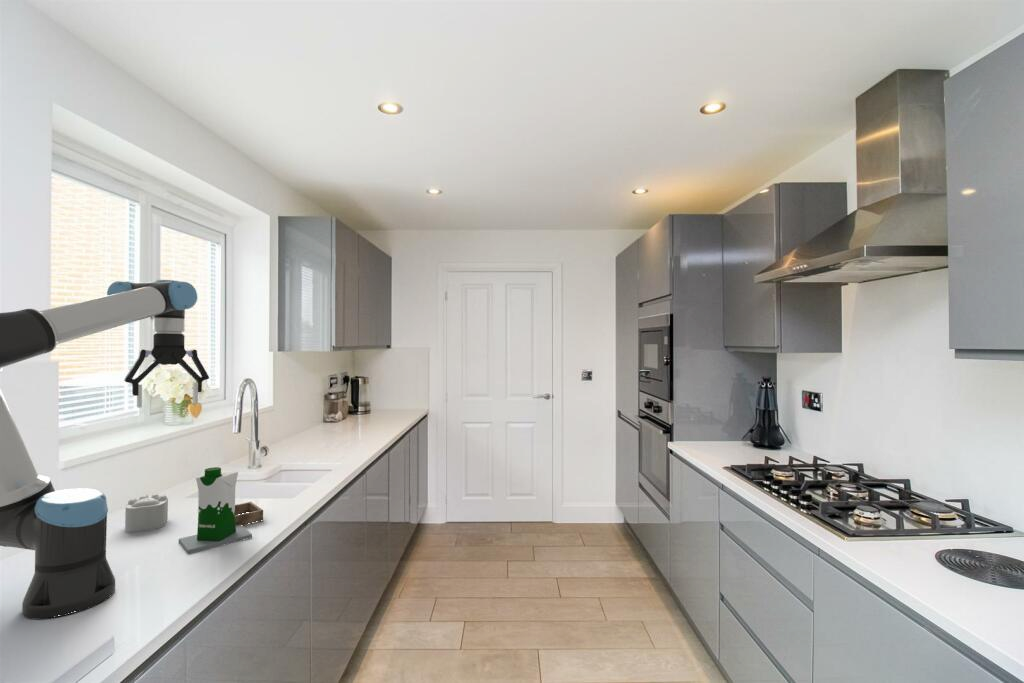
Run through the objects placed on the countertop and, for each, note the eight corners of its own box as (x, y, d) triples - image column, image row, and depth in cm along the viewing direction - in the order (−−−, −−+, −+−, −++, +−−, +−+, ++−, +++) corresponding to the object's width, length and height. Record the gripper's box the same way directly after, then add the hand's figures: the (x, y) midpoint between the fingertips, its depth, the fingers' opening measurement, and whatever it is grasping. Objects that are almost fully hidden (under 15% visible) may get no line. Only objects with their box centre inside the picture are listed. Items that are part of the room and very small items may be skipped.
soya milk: (191, 541, 137) (192, 470, 137) (213, 529, 146) (214, 463, 146) (220, 543, 136) (221, 471, 136) (241, 530, 145) (242, 463, 145)
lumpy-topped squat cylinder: (122, 533, 145) (122, 504, 145) (130, 520, 156) (131, 493, 157) (164, 527, 150) (165, 499, 150) (170, 515, 162) (170, 489, 162)
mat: (187, 553, 131) (187, 550, 131) (178, 542, 139) (178, 538, 139) (252, 537, 143) (252, 534, 143) (240, 527, 150) (240, 524, 150)
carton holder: (220, 530, 148) (220, 519, 148) (209, 520, 156) (209, 509, 156) (263, 521, 156) (263, 510, 156) (250, 512, 165) (250, 501, 165)
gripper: (214, 334, 154) (213, 401, 154) (113, 332, 137) (111, 407, 136) (220, 333, 149) (219, 403, 149) (116, 331, 131) (115, 410, 131)
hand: (168, 405), depth 143 cm, fingers open, 13 cm apart
